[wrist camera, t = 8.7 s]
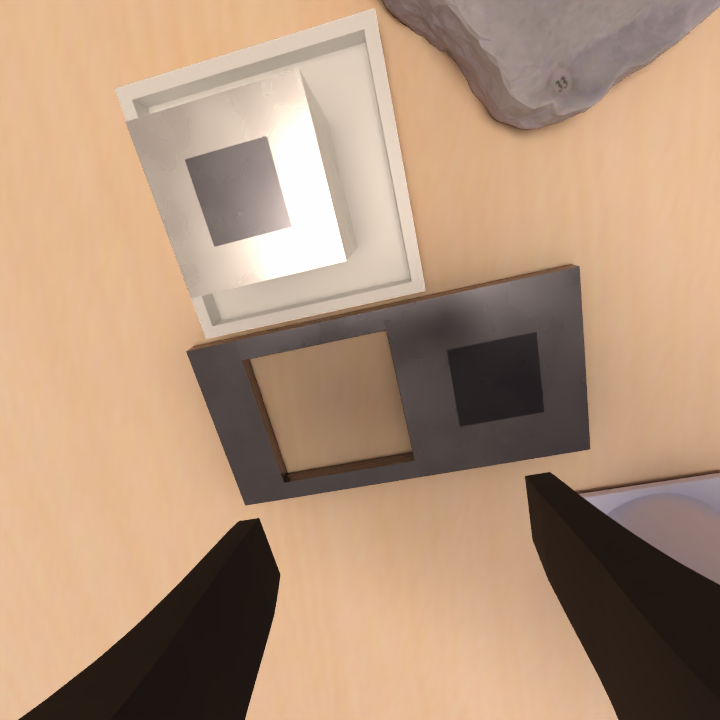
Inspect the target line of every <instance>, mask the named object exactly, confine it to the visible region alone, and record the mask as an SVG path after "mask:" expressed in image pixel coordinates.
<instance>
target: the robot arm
mask: <svg viewBox="0 0 720 720" xmlns="http://www.w3.org/2000/svg"><path fill="white" fill-rule="evenodd" d="M525 480H526V488H527V497H528V505H529V513H530V522H531V530H532V538H533V542H534V544H535V547H536V550H537V552H538V555H539V557H540V560H541V563H542V565H543V568H544V570H545V573H546V575H547V578H548V580H549V582H550V584H551V586H552V588H553V590H554V592H555V594H556V595H557V597H558V599H559V601H560V603H561V605H562V607H563V609H564V611H565V613H566V615H567V617H568V619H569V621H570V622H571V624H572V626H573V628H574V630H575V632H576V634H577V636H578V638H579V640H580V642H581V643H582V645H583V647H584V649H585V651H586V653H587V655H588V657H589V659H590V661H591V663H592V664H593V666H594V668H595V670H596V672H597V674H598V676H599V678H600V680H601V682H602V684H603V686H604V688H605V690H606V692H607V695H608V697H609V699H610V701H611V703H612V705H613V708H614V710H615V712H616V715H617V717H618V719H619V720H720V473H715V474H708V475H702V476H695V477H688V478H682V479H675V480H668V481H662V482H655V483H648V484H642V485H635V486H629V487H622V488H615V489H609V490H602V491H595V492H589V493H582V494H578V493H577V492H575V491H574V490H573V489H571V488H570V487H569V486H568V485H566V484H565V483H564V482H562V481H561V480H560V479H558V478H557V477H556V476H555V475H553V474H552V473H550V472H548V473H541V474H535V475H529V476H525ZM279 581H280V572H279V570H278V567H277V564H276V562H275V559H274V556H273V554H272V551H271V548H270V546H269V543H268V540H267V538H266V535H265V532H264V530H263V527H262V524H261V522H260V519H259V518H257V519H250V520H244V521H239V522H237V523H236V524H235V525H234V526H233V527H232V528H231V529H230V530H229V531H228V532H227V533H226V534H225V535H224V536H223V537H222V539H221V540H220V541H219V542H218V543H217V544H216V545H215V546H214V547H213V548H212V549H211V550H210V551H209V552H208V553H207V555H206V556H205V557H204V558H203V559H202V560H201V561H200V562H199V563H198V564H197V565H196V566H195V567H194V568H193V569H192V570H191V571H190V572H189V574H188V575H187V576H186V577H185V578H184V579H183V580H182V581H181V582H180V583H179V584H178V585H177V586H176V587H175V588H174V589H173V590H172V591H171V592H170V593H169V594H168V595H167V596H166V597H165V598H164V599H163V600H162V601H161V602H160V603H159V604H158V605H157V606H156V607H155V608H154V609H153V610H152V611H151V612H150V613H149V614H148V615H147V616H146V617H145V618H143V619H142V620H141V621H140V622H139V623H138V624H137V625H136V626H135V627H134V628H133V629H132V630H130V631H129V632H128V633H127V634H126V635H125V636H124V637H123V638H121V639H120V640H119V641H118V642H117V643H116V644H115V645H113V646H112V647H111V648H110V649H109V650H108V651H106V652H105V653H104V654H103V655H102V656H101V657H99V658H98V659H97V660H96V661H95V662H93V663H92V664H91V665H90V666H88V667H87V668H86V669H84V670H83V671H82V672H81V673H79V674H78V675H77V676H76V677H74V678H73V679H72V680H70V681H69V682H68V683H67V684H65V685H64V686H63V687H61V688H60V689H59V690H58V691H56V692H55V693H54V694H53V695H51V696H50V697H49V698H47V699H46V700H45V701H43V702H42V703H41V704H39V705H38V706H37V707H35V708H34V709H32V710H31V711H30V712H28V713H27V714H26V715H24V716H23V717H21V718H20V719H19V720H245V717H246V713H247V710H248V706H249V702H250V699H251V695H252V692H253V688H254V685H255V681H256V678H257V674H258V671H259V667H260V664H261V660H262V657H263V653H264V650H265V646H266V643H267V639H268V635H269V632H270V628H271V625H272V621H273V617H274V613H275V607H276V601H277V595H278V588H279Z"/></svg>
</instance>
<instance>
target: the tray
mask: <svg viewBox="0 0 720 720" xmlns="http://www.w3.org/2000/svg"><path fill="white" fill-rule="evenodd" d="M298 68H299V69H300V71H301V73H302V74H303V76H304V78H305V80H306V82H307V84H308V85H309V87H310V89H311V91H312V93H313V94H314V96H315V98H316V100H317V102H318V104H319V105H320V107H321V109H322V111H323V113H324V114H325V116H326V118H327V120H328V122H329V126H330V131H331V135H332V139H333V144H334V148H335V152H336V156H337V161H338V165H339V169H340V174H341V178H342V182H343V187H344V191H345V195H346V199H347V204H348V208H349V212H350V217H351V221H352V225H353V229H354V234H355V238H356V242H357V247H358V248H357V249H356V250H355V252H354V253H353V254H352V255H351V256H350V257H349V258H348V259H347V261H344V262H340V263H336V264H331V265H327V266H323V267H319V268H315V269H311V270H307V271H303V272H298V273H294V274H290V275H286V276H282V277H278V278H274V279H270V280H265V281H261V282H257V283H253V284H249V285H245V286H241V287H237V288H232V289H228V290H224V291H220V292H216V293H212V294H208V295H204V296H199V297H195V298H191V300H192V303H193V305H194V308H195V311H196V314H197V316H198V319H199V322H200V325H201V327H202V330H203V333H204V336H205V338H206V339H209V338H214V337H218V336H223V335H227V334H232V333H237V332H241V331H246V330H250V329H255V328H259V327H264V326H268V325H273V324H278V323H282V322H287V321H291V320H296V319H300V318H305V317H310V316H314V315H319V314H323V313H328V312H332V311H337V310H341V309H346V308H351V307H355V306H360V305H364V304H369V303H373V302H378V301H383V300H387V299H392V298H396V297H401V296H405V295H410V294H414V293H419V292H424V291H426V289H425V283H424V278H423V272H422V266H421V261H420V255H419V250H418V244H417V239H416V233H415V228H414V222H413V216H412V211H411V205H410V200H409V194H408V189H407V183H406V177H405V172H404V166H403V161H402V155H401V150H400V144H399V138H398V133H397V127H396V122H395V116H394V111H393V105H392V99H391V94H390V88H389V83H388V77H387V72H386V66H385V61H384V55H383V49H382V44H381V38H380V33H379V27H378V22H377V16H376V10H375V8H373V9H370V10H366V11H363V12H360V13H357V14H353V15H350V16H347V17H344V18H341V19H337V20H334V21H331V22H328V23H324V24H321V25H318V26H315V27H312V28H308V29H305V30H302V31H299V32H295V33H292V34H289V35H286V36H283V37H279V38H276V39H273V40H270V41H266V42H263V43H260V44H257V45H254V46H250V47H247V48H244V49H241V50H237V51H234V52H231V53H228V54H224V55H221V56H218V57H215V58H212V59H208V60H205V61H202V62H199V63H195V64H192V65H189V66H186V67H183V68H179V69H176V70H173V71H170V72H166V73H163V74H160V75H157V76H154V77H150V78H147V79H144V80H141V81H137V82H134V83H131V84H128V85H125V86H121V87H118V88H115V91H116V94H117V97H118V100H119V102H120V105H121V108H122V110H123V113H124V116H125V119H126V121H129V120H133V119H136V118H139V117H142V116H146V115H149V114H152V113H155V112H159V111H162V110H165V109H168V108H172V107H175V106H178V105H181V104H185V103H188V102H191V101H194V100H198V99H201V98H204V97H207V96H210V95H214V94H217V93H220V92H223V91H227V90H230V89H233V88H236V87H240V86H243V85H246V84H249V83H253V82H256V81H259V80H262V79H266V78H269V77H272V76H275V75H279V74H282V73H285V72H288V71H292V70H295V69H298ZM184 281H185V280H184ZM187 289H188V288H187ZM188 292H189V291H188Z"/></svg>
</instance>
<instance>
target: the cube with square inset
mask: <svg viewBox="0 0 720 720" xmlns="http://www.w3.org/2000/svg"><path fill="white" fill-rule="evenodd" d="M126 125H127V127H128V130H129V133H130V135H131V138H132V141H133V143H134V146H135V149H136V151H137V154H138V157H139V159H140V162H141V165H142V168H143V170H144V173H145V176H146V178H147V181H148V184H149V186H150V189H151V192H152V194H153V197H154V200H155V202H156V205H157V208H158V211H159V213H160V216H161V219H162V221H163V224H164V227H165V229H166V232H167V235H168V237H169V240H170V243H171V245H172V248H173V251H174V254H175V256H176V259H177V262H178V264H179V267H180V270H181V272H182V275H183V278H184V280H185V283H186V286H187V288H188V291H189V294H190V297H191V298H195V297H199V296H204V295H208V294H212V293H216V292H220V291H224V290H228V289H232V288H237V287H241V286H245V285H249V284H253V283H257V282H261V281H265V280H270V279H274V278H278V277H282V276H286V275H290V274H294V273H298V272H303V271H307V270H311V269H315V268H319V267H323V266H327V265H331V264H336V263H340V262H344V261H347V259H348V258H349V257H350V256H351V255H352V254H353V253H354V252H355V250H356V249H357V248H358V247H357V242H356V238H355V234H354V229H353V225H352V221H351V217H350V212H349V208H348V204H347V199H346V195H345V191H344V187H343V182H342V178H341V174H340V169H339V165H338V161H337V156H336V152H335V148H334V144H333V139H332V135H331V131H330V126H329V122H328V120H327V118H326V116H325V114H324V113H323V111H322V109H321V107H320V105H319V104H318V102H317V100H316V98H315V96H314V94H313V93H312V91H311V89H310V87H309V85H308V84H307V82H306V80H305V78H304V76H303V74H302V73H301V71H300V69H299V68H298V69H295V70H292V71H288V72H285V73H282V74H279V75H275V76H272V77H269V78H266V79H262V80H259V81H256V82H253V83H249V84H246V85H243V86H240V87H236V88H233V89H230V90H227V91H223V92H220V93H217V94H214V95H210V96H207V97H204V98H201V99H198V100H194V101H191V102H188V103H185V104H181V105H178V106H175V107H172V108H168V109H165V110H162V111H159V112H155V113H152V114H149V115H146V116H142V117H139V118H136V119H133V120H129V121H126Z"/></svg>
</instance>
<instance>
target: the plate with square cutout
mask: <svg viewBox="0 0 720 720" xmlns="http://www.w3.org/2000/svg"><path fill="white" fill-rule="evenodd" d="M385 330H387V335H388V340H389V344H390V349H391V353H392V358H393V363H394V367H395V372H396V376H397V381H398V386H399V390H400V395H401V400H402V404H403V409H404V413H405V418H406V423H407V427H408V432H409V436H410V441H411V446H412V450H413V452H412V453H406V454H401V455H395V456H389V457H383V458H377V459H371V460H365V461H360V462H354V463H348V464H342V465H336V466H330V467H324V468H319V469H313V470H307V471H301V472H295V473H289V474H287V472H286V469H285V466H284V463H283V460H282V457H281V454H280V451H279V448H278V445H277V442H276V439H275V436H274V433H273V430H272V427H271V424H270V421H269V418H268V415H267V412H266V409H265V406H264V403H263V400H262V397H261V394H260V391H259V388H258V385H257V382H256V379H255V376H254V373H253V370H252V367H251V364H250V361H249V359H252V358H257V357H261V356H266V355H271V354H276V353H280V352H285V351H290V350H295V349H299V348H304V347H309V346H314V345H319V344H323V343H328V342H333V341H338V340H342V339H347V338H352V337H357V336H361V335H366V334H371V333H376V332H381V331H385ZM186 352H187V355H188V357H189V360H190V362H191V365H192V368H193V370H194V373H195V375H196V378H197V381H198V383H199V386H200V388H201V391H202V394H203V396H204V399H205V401H206V404H207V407H208V409H209V412H210V414H211V417H212V420H213V422H214V425H215V427H216V430H217V433H218V435H219V438H220V441H221V443H222V446H223V448H224V451H225V454H226V456H227V459H228V461H229V464H230V467H231V469H232V472H233V474H234V477H235V480H236V482H237V485H238V487H239V490H240V493H241V495H242V498H243V500H244V503H245V505H251V504H257V503H263V502H270V501H276V500H282V499H288V498H294V497H300V496H306V495H313V494H319V493H325V492H331V491H337V490H343V489H349V488H355V487H362V486H368V485H374V484H380V483H386V482H392V481H398V480H405V479H411V478H417V477H423V476H429V475H435V474H441V473H448V472H454V471H460V470H466V469H472V468H478V467H484V466H491V465H497V464H503V463H509V462H515V461H521V460H527V459H534V458H540V457H546V456H552V455H558V454H564V453H570V452H577V451H583V450H589V449H590V436H589V419H588V403H587V386H586V369H585V352H584V335H583V318H582V301H581V284H580V267H579V266H576V265H572V264H570V265H566V266H561V267H556V268H552V269H547V270H543V271H538V272H534V273H529V274H524V275H520V276H515V277H511V278H506V279H501V280H497V281H492V282H488V283H483V284H478V285H474V286H469V287H465V288H460V289H455V290H451V291H446V292H442V293H437V294H432V295H428V296H423V297H419V298H414V299H409V300H405V301H400V302H396V303H391V304H386V305H382V306H377V307H373V308H368V309H364V310H359V311H354V312H350V313H345V314H341V315H336V316H331V317H327V318H322V319H318V320H313V321H308V322H304V323H299V324H295V325H290V326H285V327H281V328H276V329H272V330H267V331H262V332H258V333H253V334H249V335H244V336H239V337H235V338H230V339H226V340H221V341H216V342H212V343H207V344H203V345H198V346H194V347H192V348H191V349H189V350H188V351H186Z"/></svg>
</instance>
